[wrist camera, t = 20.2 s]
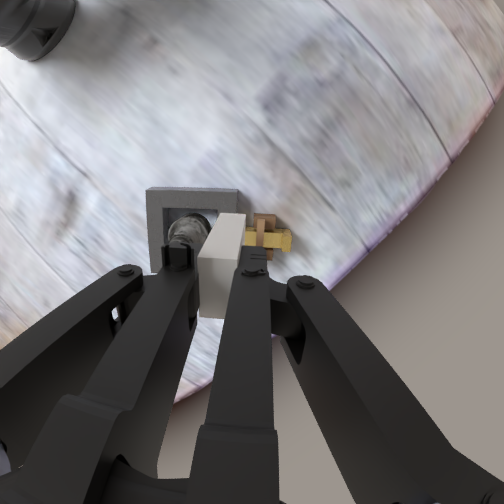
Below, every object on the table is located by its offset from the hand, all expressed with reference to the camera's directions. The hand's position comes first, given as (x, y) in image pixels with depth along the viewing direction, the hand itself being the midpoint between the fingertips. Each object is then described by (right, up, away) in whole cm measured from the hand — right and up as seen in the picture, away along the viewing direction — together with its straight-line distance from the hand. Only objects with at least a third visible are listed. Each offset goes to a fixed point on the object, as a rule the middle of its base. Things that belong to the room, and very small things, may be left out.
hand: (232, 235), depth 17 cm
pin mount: (+3, +2, +26) cm, 26 cm away
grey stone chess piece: (-8, +2, +26) cm, 27 cm away
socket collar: (-8, +2, +26) cm, 27 cm away
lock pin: (+2, +2, +25) cm, 25 cm away
